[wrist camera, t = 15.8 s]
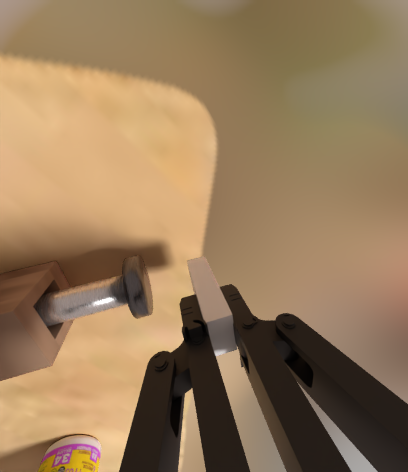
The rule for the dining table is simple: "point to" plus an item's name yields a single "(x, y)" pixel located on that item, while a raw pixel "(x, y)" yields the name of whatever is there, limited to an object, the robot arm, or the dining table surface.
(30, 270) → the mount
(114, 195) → the dining table surface
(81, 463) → the supplement bottle
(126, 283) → the bar
